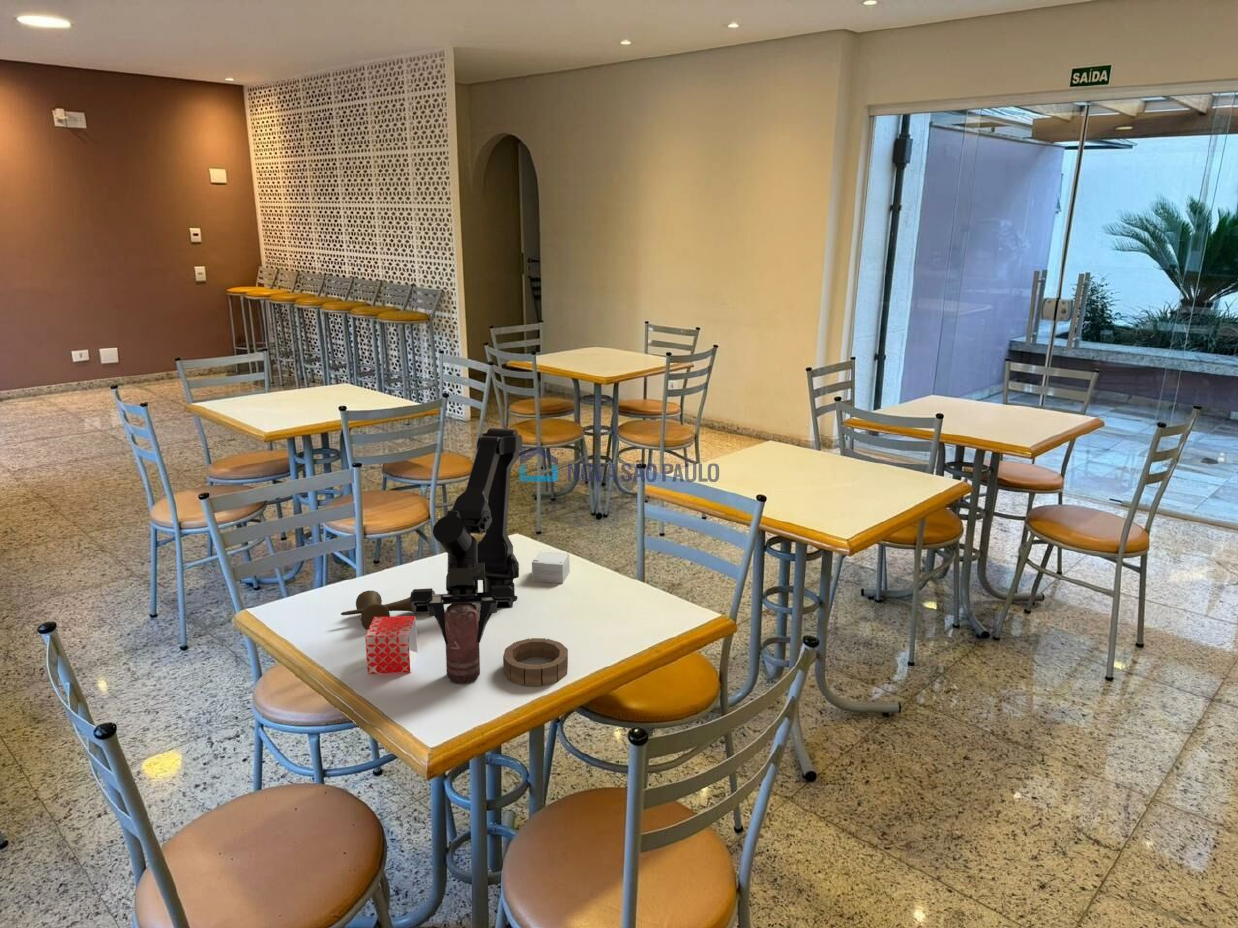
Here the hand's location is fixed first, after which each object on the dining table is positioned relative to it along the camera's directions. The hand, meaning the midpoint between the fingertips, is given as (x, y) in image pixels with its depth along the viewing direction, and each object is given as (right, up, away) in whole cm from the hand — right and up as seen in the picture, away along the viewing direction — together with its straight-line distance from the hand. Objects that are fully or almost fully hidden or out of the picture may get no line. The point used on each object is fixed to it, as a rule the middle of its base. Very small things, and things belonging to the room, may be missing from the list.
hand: (462, 643), depth 149 cm
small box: (+12, +5, +50) cm, 52 cm away
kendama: (-21, -1, +26) cm, 34 cm away
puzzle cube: (-15, -6, +8) cm, 18 cm away
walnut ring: (+13, -6, +6) cm, 16 cm away
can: (0, -7, +3) cm, 8 cm away
